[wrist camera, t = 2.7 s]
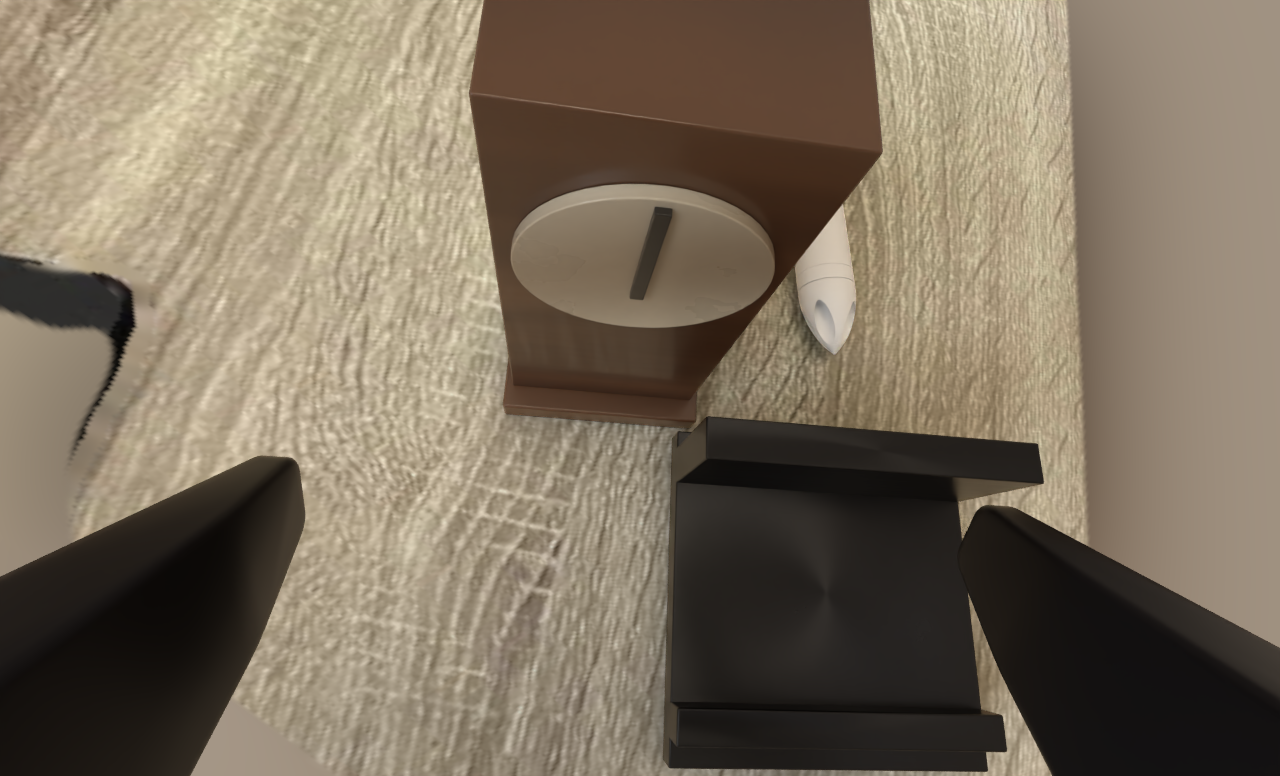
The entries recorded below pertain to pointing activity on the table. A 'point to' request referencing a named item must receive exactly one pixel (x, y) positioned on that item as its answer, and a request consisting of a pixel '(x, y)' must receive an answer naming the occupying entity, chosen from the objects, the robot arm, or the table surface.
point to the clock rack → (826, 598)
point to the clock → (658, 183)
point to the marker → (828, 285)
